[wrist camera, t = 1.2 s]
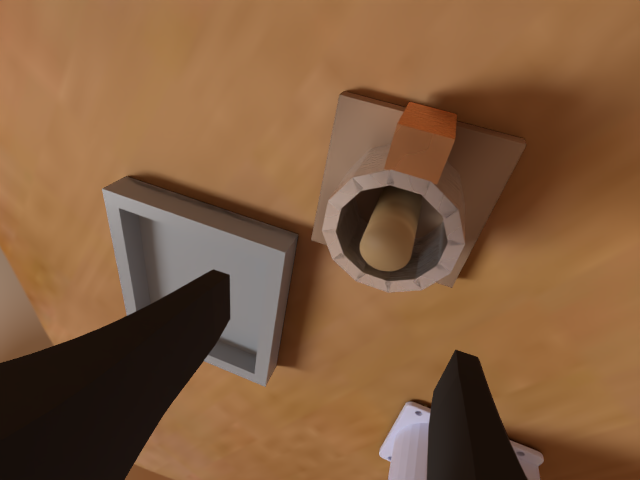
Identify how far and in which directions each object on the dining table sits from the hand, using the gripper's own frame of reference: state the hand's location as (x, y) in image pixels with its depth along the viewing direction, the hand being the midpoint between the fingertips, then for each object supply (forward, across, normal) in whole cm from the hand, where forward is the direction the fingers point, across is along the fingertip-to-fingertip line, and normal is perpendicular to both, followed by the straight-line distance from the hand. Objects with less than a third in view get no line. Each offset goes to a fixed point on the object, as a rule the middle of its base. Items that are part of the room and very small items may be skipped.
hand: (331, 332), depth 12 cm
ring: (+9, -1, -1) cm, 9 cm away
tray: (+9, +11, +10) cm, 17 cm away
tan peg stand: (+10, -1, -1) cm, 10 cm away
